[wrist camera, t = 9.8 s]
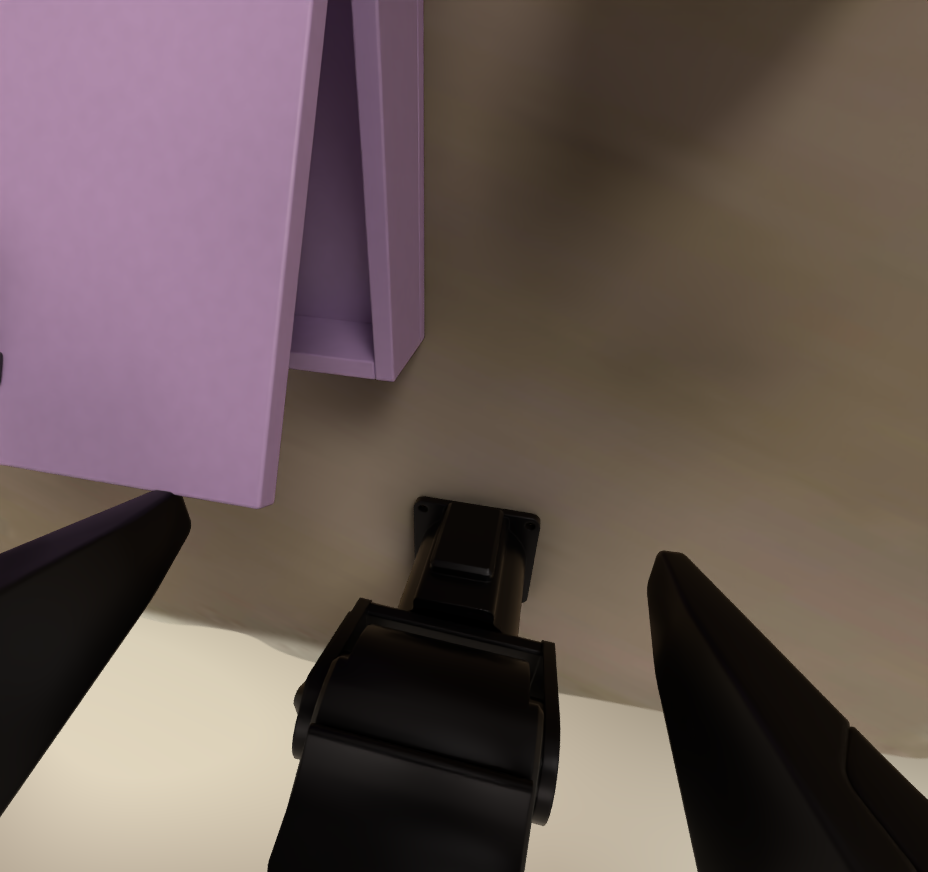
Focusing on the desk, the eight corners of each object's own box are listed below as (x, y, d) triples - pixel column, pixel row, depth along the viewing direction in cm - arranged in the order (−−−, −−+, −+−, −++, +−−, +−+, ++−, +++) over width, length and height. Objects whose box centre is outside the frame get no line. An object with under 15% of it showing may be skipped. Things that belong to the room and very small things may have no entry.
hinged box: (424, 338, 20) (394, 382, 17) (83, 298, 22) (-7, 331, 19) (423, -198, 12) (364, -324, 9) (-109, -178, 14) (-325, -273, 11)
